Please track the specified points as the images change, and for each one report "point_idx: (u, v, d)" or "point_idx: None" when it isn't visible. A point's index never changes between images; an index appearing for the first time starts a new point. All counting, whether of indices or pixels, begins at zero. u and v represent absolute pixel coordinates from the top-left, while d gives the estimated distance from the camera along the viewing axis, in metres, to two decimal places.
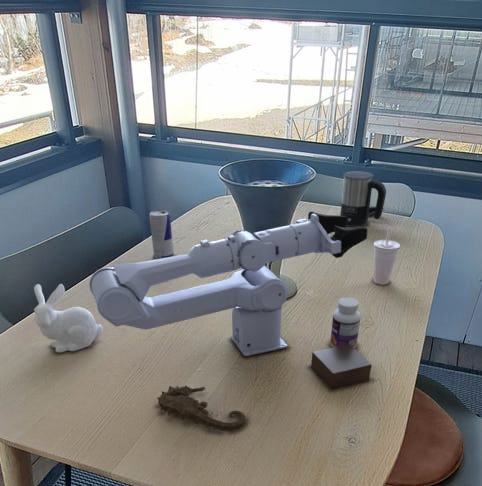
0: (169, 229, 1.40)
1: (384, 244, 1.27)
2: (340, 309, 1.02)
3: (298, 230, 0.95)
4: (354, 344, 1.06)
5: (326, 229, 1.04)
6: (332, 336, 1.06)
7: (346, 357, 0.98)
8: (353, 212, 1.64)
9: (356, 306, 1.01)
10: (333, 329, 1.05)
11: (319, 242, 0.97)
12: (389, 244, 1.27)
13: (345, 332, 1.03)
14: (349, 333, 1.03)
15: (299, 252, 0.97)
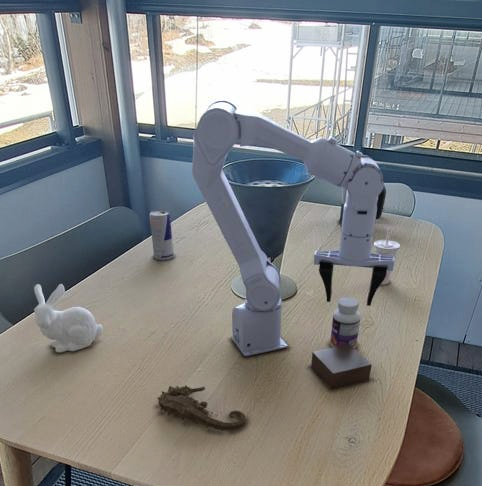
0: (169, 229, 1.40)
1: (384, 244, 1.27)
2: (340, 309, 1.02)
3: None
4: (354, 344, 1.06)
5: (331, 280, 1.00)
6: (332, 336, 1.06)
7: (346, 357, 0.98)
8: None
9: (356, 306, 1.01)
10: (333, 329, 1.05)
11: (370, 256, 0.96)
12: (389, 244, 1.27)
13: (345, 332, 1.03)
14: (349, 333, 1.03)
15: (370, 237, 0.93)
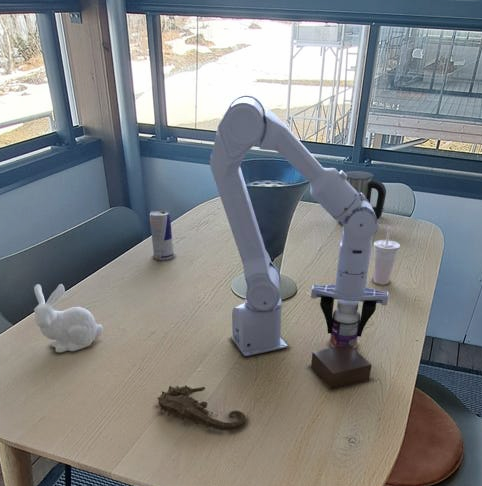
0: (169, 229, 1.40)
1: (384, 244, 1.27)
2: (340, 309, 1.02)
3: None
4: (354, 344, 1.06)
5: None
6: (332, 336, 1.06)
7: (346, 357, 0.98)
8: None
9: (356, 306, 1.01)
10: (333, 329, 1.05)
11: (365, 291, 1.00)
12: (389, 244, 1.27)
13: (345, 332, 1.03)
14: (348, 333, 1.03)
15: (365, 274, 0.97)
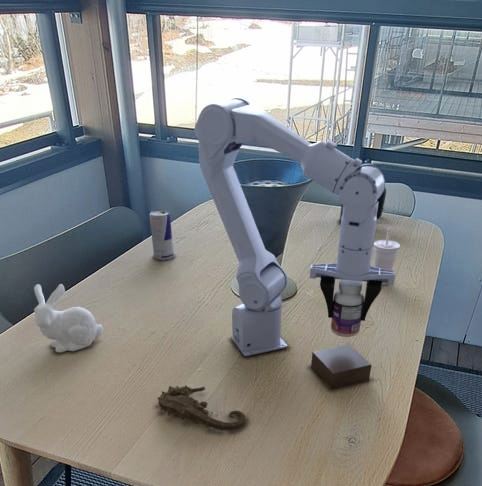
0: (169, 229, 1.40)
1: (384, 244, 1.27)
2: (342, 290, 0.92)
3: None
4: (357, 329, 0.96)
5: None
6: (333, 320, 0.96)
7: (346, 357, 0.98)
8: None
9: (359, 287, 0.92)
10: (334, 313, 0.95)
11: (369, 270, 0.91)
12: (389, 244, 1.27)
13: (347, 315, 0.94)
14: (351, 317, 0.94)
15: (370, 250, 0.87)
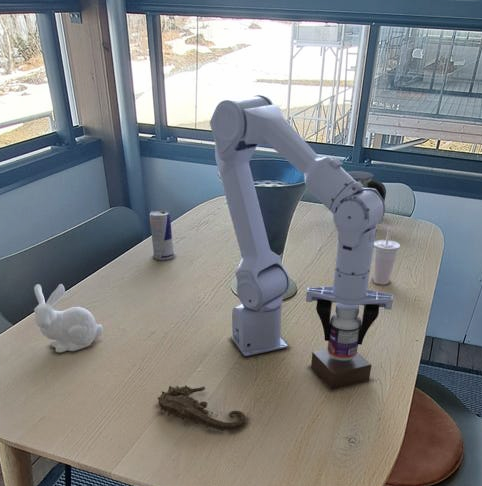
0: (169, 229, 1.40)
1: (384, 244, 1.27)
2: (338, 314, 0.91)
3: None
4: (354, 353, 0.95)
5: (329, 318, 0.92)
6: (329, 344, 0.95)
7: None
8: None
9: (356, 310, 0.90)
10: (331, 336, 0.94)
11: (366, 294, 0.89)
12: (389, 244, 1.27)
13: (344, 339, 0.92)
14: (348, 341, 0.92)
15: (367, 275, 0.86)
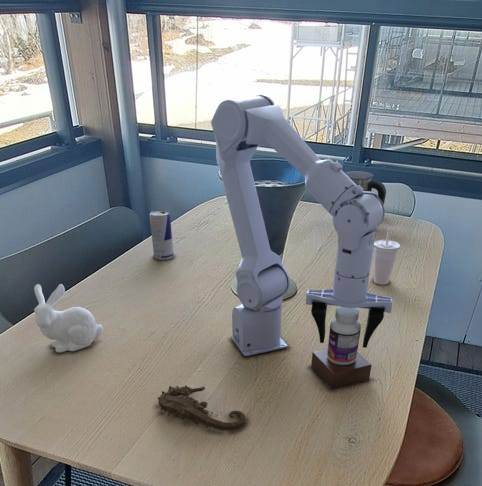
0: (169, 229, 1.40)
1: (384, 244, 1.27)
2: (338, 319, 0.91)
3: None
4: (354, 357, 0.95)
5: (324, 321, 0.93)
6: (329, 348, 0.95)
7: None
8: None
9: (356, 315, 0.91)
10: (330, 341, 0.94)
11: (366, 297, 0.89)
12: (389, 244, 1.27)
13: (344, 344, 0.93)
14: (348, 346, 0.93)
15: (366, 278, 0.86)
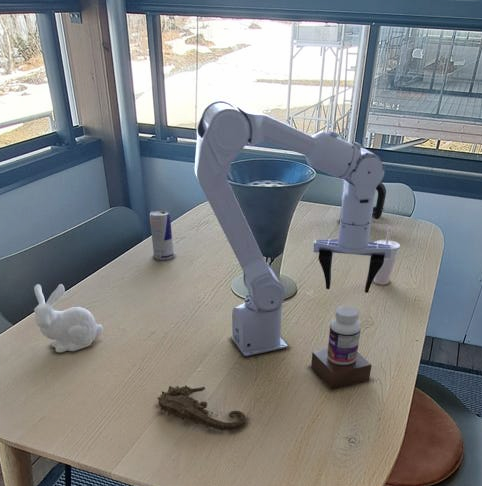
0: (169, 229, 1.40)
1: None
2: (338, 319, 0.91)
3: None
4: (354, 357, 0.95)
5: (330, 268, 1.03)
6: (329, 348, 0.95)
7: None
8: None
9: (356, 315, 0.91)
10: (330, 341, 0.94)
11: (368, 244, 0.99)
12: (389, 244, 1.27)
13: (344, 344, 0.93)
14: (348, 346, 0.93)
15: (368, 225, 0.96)
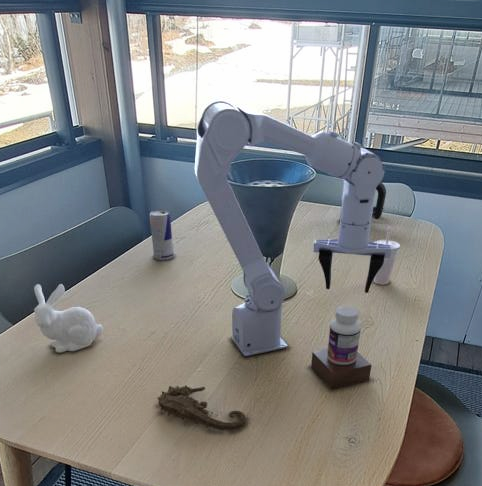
0: (169, 229, 1.40)
1: None
2: (338, 319, 0.91)
3: None
4: (354, 357, 0.95)
5: (330, 268, 1.03)
6: (329, 348, 0.95)
7: None
8: None
9: (356, 315, 0.91)
10: (330, 341, 0.94)
11: (368, 244, 0.99)
12: (389, 244, 1.27)
13: (344, 344, 0.93)
14: (348, 346, 0.93)
15: (368, 225, 0.96)
